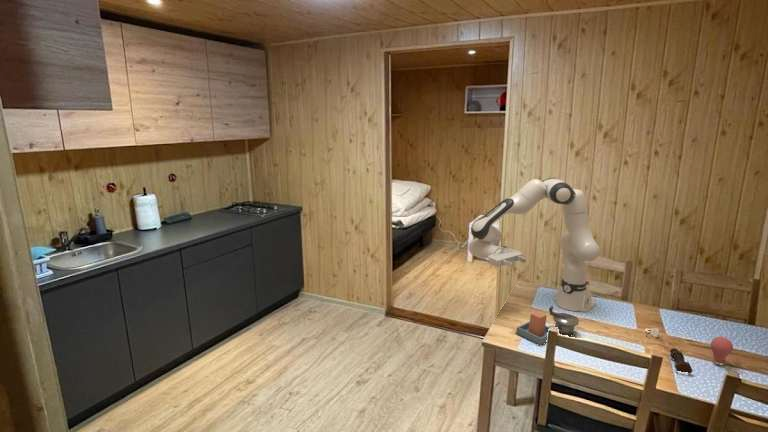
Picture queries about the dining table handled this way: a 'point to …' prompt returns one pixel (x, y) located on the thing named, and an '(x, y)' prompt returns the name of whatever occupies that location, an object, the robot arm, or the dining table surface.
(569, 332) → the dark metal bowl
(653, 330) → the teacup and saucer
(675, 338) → the dining table surface
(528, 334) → the tray
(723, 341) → the light bulb
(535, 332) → the block
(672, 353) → the brown shoe
